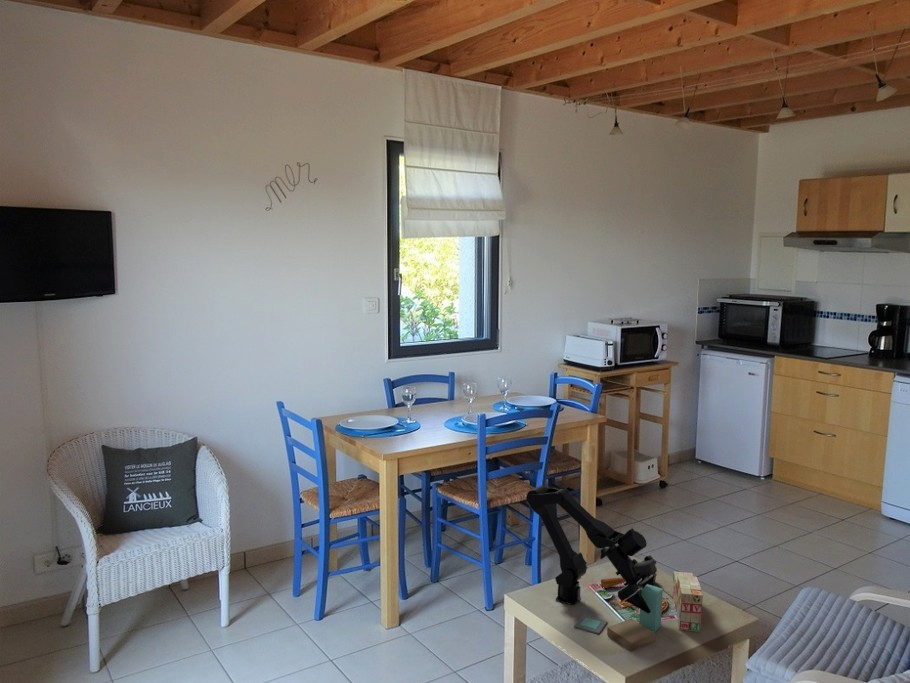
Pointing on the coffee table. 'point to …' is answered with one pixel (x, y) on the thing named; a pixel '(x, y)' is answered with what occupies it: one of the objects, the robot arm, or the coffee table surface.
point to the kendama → (612, 582)
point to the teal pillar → (651, 607)
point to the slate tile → (590, 624)
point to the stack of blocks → (687, 601)
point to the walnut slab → (631, 634)
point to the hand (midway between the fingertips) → (655, 606)
